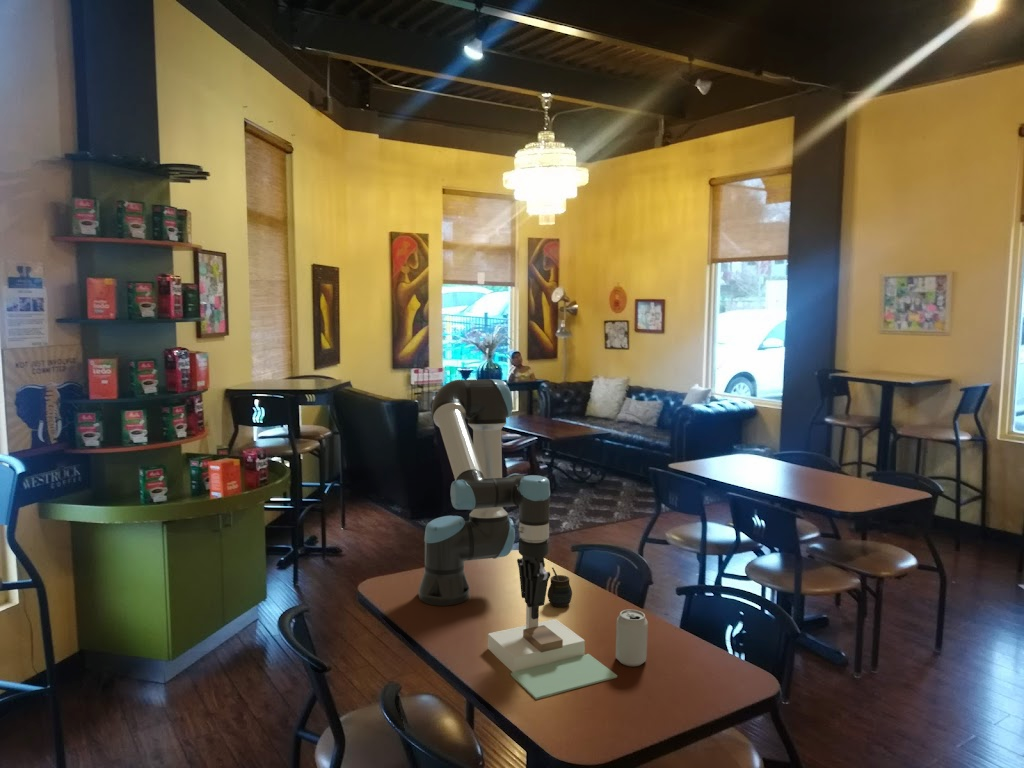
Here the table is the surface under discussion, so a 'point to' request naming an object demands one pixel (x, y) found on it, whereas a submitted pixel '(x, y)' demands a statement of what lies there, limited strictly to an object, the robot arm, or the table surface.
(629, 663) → the can
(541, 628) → the brown wooden slab
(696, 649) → the table surface
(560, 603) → the mate gourd
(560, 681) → the mat
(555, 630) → the white flat block
